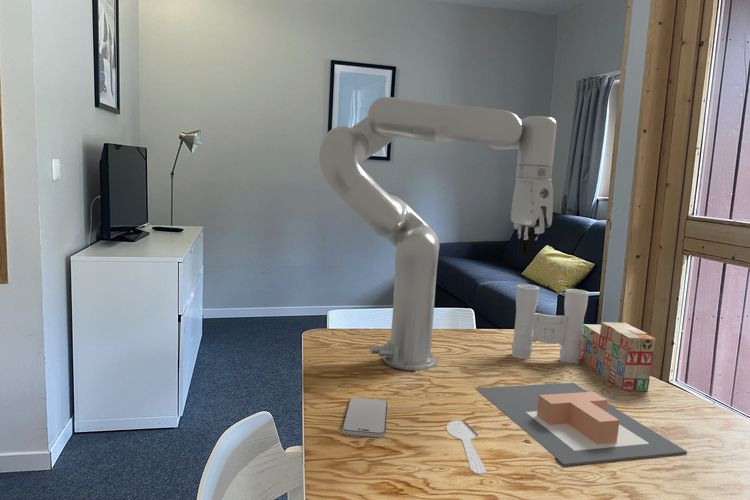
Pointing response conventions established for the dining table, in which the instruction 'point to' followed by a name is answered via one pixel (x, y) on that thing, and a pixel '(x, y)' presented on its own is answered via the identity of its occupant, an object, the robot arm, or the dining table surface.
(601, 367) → the stack of blocks
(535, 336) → the binoculars
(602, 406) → the t block
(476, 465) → the spoon
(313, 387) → the dining table surface
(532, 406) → the mat
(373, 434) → the smartphone
